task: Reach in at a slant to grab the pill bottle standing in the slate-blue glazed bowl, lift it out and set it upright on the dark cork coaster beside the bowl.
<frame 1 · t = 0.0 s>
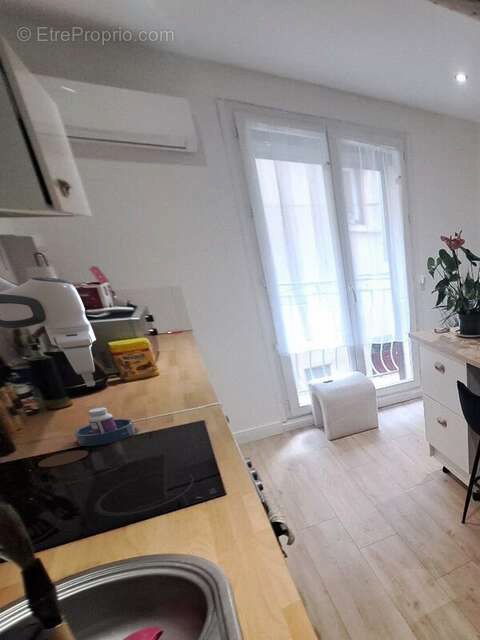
hand: (89, 382, 122), 21 cm above the counter, tool pointing down, fingers open, 8 cm apart
coaster: (64, 460, 119), on the counter
pill bottle: (108, 437, 133), resting on bowl
bowl: (108, 438, 133), on the counter
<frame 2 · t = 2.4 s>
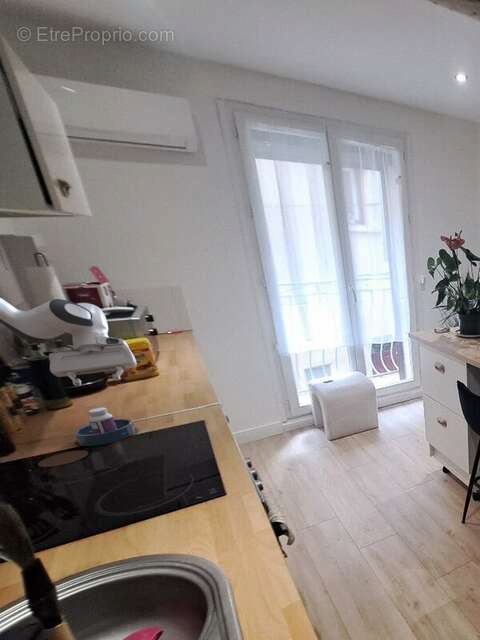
hand: (97, 382, 136), 16 cm above the counter, tool tilted 45°, fingers open, 8 cm apart
nothing on the counter moved.
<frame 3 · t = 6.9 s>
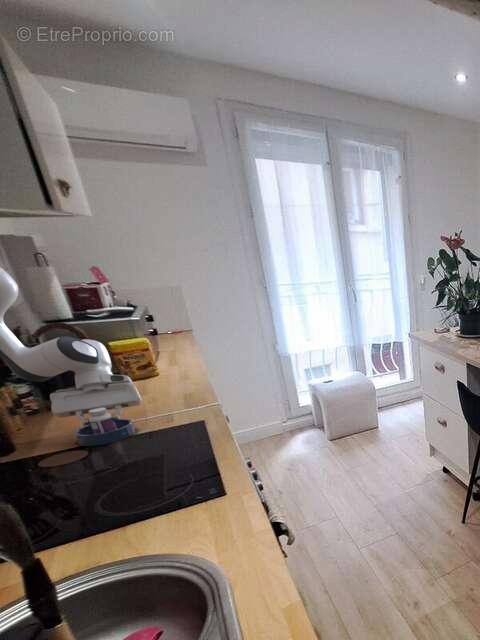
hand: (101, 421, 131), 6 cm above the counter, tool tilted 45°, fingers closed on pill bottle, 5 cm apart
pill bottle: (108, 437, 133), resting on bowl, touching gripper
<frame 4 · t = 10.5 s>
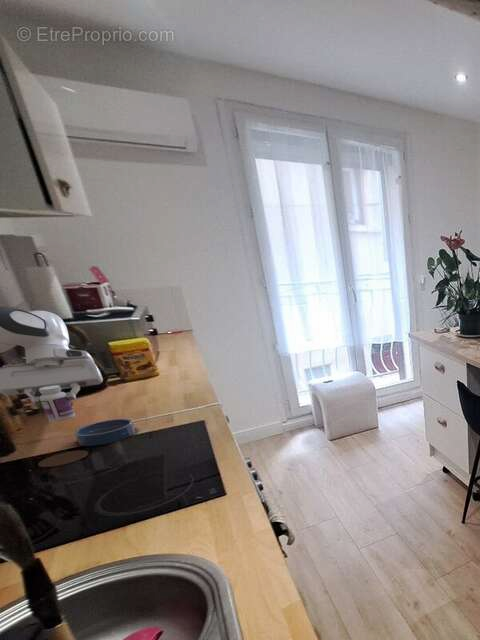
hand: (54, 401, 117), 17 cm above the counter, tool tilted 45°, fingers closed on pill bottle, 5 cm apart
pill bottle: (62, 419, 119), point 11 cm above the counter, touching gripper
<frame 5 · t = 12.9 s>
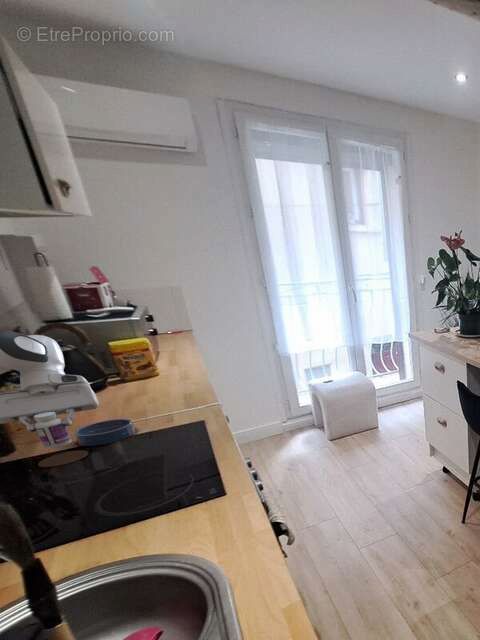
hand: (50, 428, 115), 10 cm above the counter, tool tilted 45°, fingers closed on pill bottle, 5 cm apart
pill bottle: (58, 445, 118), point 5 cm above the counter, touching gripper
when the fingers open (6 cm above the counter, at t = 14.6 s): pill bottle stays where it is, resting on coaster.
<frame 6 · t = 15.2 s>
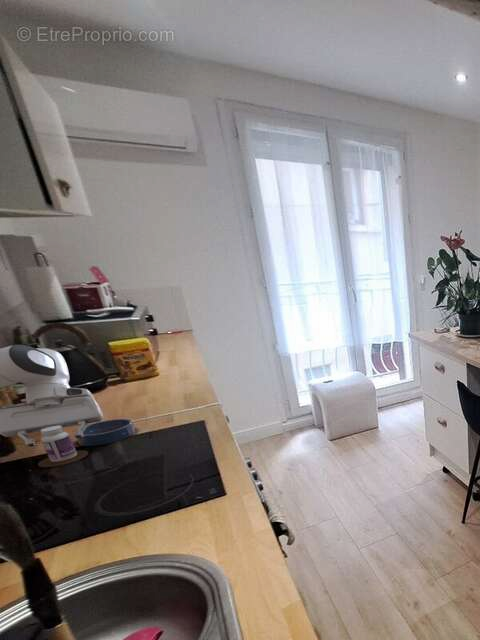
hand: (55, 441, 117), 6 cm above the counter, tool tilted 45°, fingers open, 8 cm apart
pill bottle: (64, 458, 119), resting on coaster
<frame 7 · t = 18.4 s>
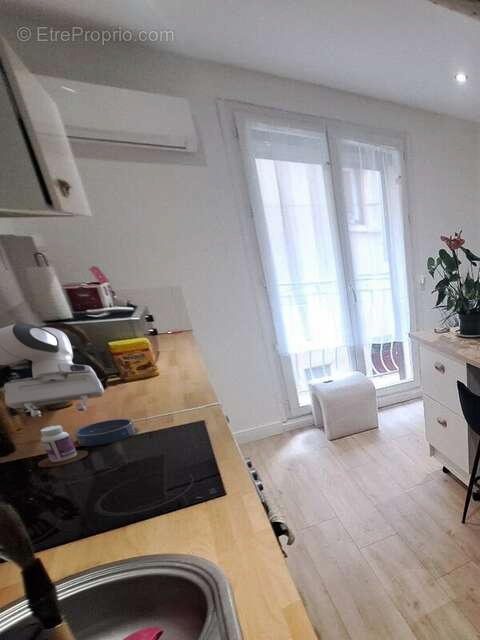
hand: (59, 413, 124), 11 cm above the counter, tool tilted 45°, fingers open, 8 cm apart
nothing on the counter moved.
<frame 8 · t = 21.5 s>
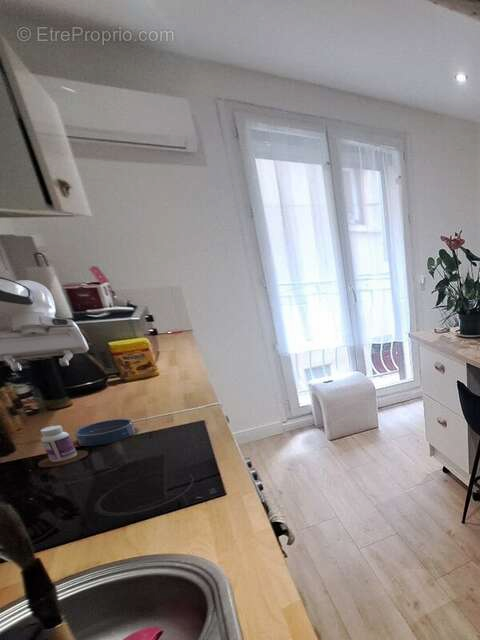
hand: (40, 367, 120), 25 cm above the counter, tool tilted 45°, fingers open, 8 cm apart
nothing on the counter moved.
at the end: pill bottle inside the target area (0.1 cm from its centre), resting on coaster; pill bottle tilted 0° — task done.
